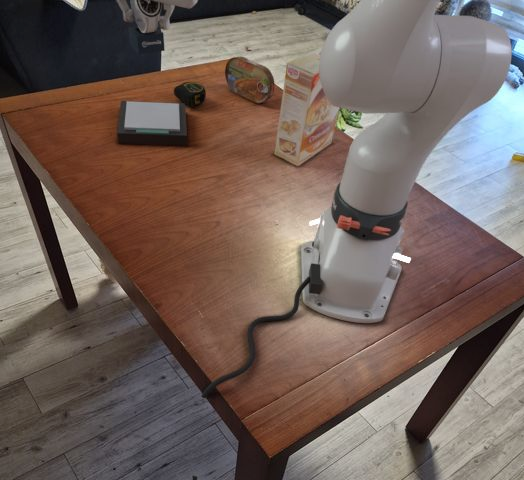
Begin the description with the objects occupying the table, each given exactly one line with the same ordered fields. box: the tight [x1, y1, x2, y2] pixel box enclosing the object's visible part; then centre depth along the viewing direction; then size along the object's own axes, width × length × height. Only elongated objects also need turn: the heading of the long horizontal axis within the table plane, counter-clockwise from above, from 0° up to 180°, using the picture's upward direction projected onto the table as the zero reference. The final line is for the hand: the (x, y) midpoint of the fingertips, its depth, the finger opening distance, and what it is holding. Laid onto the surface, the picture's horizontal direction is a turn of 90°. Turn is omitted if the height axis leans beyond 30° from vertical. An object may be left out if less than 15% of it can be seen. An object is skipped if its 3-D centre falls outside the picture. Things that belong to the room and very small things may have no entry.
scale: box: [116, 100, 188, 147], centre depth 108 cm, size 15×15×3 cm
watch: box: [127, 0, 166, 55], centre depth 90 cm, size 6×8×11 cm
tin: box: [224, 56, 275, 104], centre depth 121 cm, size 15×3×8 cm, turn 50°
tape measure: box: [173, 81, 207, 108], centre depth 117 cm, size 7×7×4 cm
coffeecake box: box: [273, 46, 340, 167], centre depth 103 cm, size 15×7×20 cm, turn 143°
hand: (147, 24), depth 91 cm, fingers closed on watch, 6 cm apart
